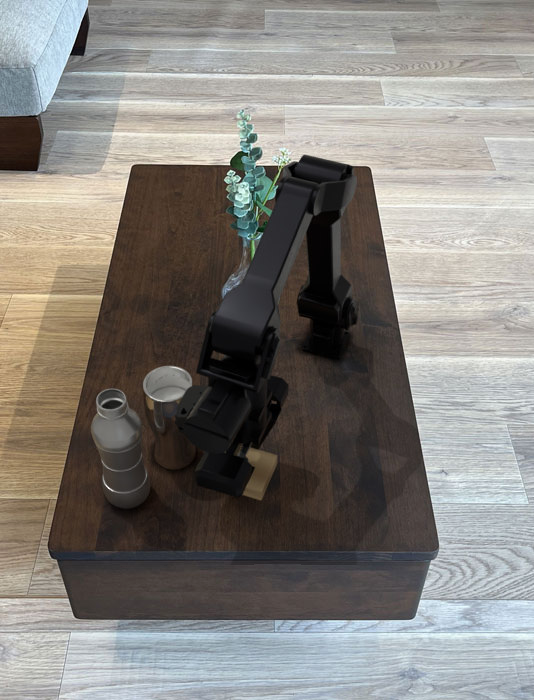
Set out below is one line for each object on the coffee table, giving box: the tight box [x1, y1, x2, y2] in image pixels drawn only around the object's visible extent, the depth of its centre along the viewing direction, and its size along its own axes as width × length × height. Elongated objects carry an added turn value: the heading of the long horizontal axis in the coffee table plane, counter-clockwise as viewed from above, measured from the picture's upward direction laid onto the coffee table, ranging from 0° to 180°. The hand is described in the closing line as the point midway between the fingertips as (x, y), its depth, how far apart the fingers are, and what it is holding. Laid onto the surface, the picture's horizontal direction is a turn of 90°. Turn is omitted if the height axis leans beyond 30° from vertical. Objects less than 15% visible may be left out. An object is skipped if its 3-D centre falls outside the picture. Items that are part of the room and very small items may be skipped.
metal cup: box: [142, 365, 197, 470], centre depth 111 cm, size 7×7×15 cm
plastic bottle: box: [90, 388, 152, 510], centre depth 104 cm, size 6×7×20 cm
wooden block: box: [237, 446, 278, 501], centre depth 108 cm, size 6×8×2 cm
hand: (244, 469), depth 108 cm, fingers closed on wooden block, 6 cm apart
